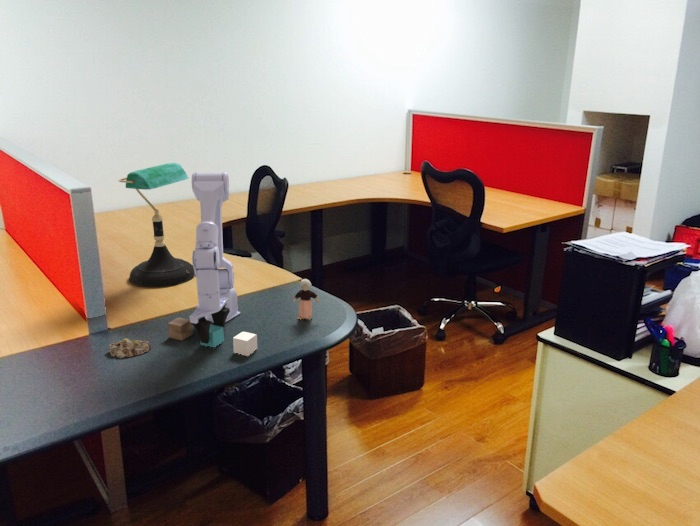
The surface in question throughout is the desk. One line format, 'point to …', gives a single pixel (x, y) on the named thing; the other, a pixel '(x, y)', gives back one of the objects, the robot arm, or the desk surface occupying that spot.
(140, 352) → the mineral rock
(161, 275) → the banker's lamp
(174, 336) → the walnut block
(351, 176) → the desk surface
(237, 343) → the white block
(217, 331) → the teal block
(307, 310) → the grandmother figurine
